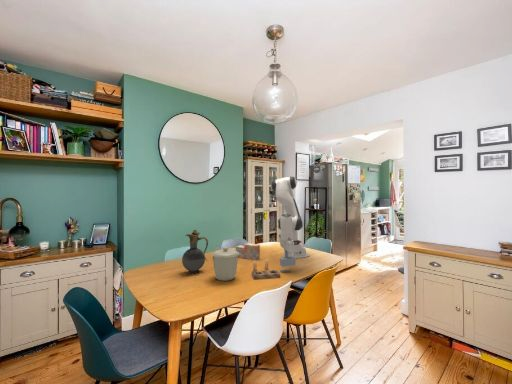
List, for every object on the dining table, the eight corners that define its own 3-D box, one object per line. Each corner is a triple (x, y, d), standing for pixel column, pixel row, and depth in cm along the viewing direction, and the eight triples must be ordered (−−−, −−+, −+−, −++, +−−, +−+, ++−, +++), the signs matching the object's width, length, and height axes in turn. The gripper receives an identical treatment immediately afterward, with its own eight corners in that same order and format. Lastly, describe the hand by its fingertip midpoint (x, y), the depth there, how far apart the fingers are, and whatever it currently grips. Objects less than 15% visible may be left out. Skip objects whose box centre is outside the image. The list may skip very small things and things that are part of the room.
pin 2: (267, 268, 181) (267, 259, 181) (268, 269, 179) (268, 260, 179) (264, 269, 181) (264, 259, 181) (265, 270, 178) (265, 260, 178)
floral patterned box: (235, 257, 214) (235, 243, 214) (239, 255, 219) (239, 241, 219) (256, 260, 203) (256, 246, 203) (259, 259, 208) (259, 244, 208)
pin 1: (256, 270, 179) (256, 260, 179) (256, 271, 176) (256, 261, 176) (252, 270, 178) (252, 260, 178) (253, 271, 176) (253, 261, 175)
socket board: (276, 273, 171) (276, 269, 171) (280, 277, 163) (280, 273, 163) (251, 275, 167) (251, 271, 167) (253, 279, 160) (253, 275, 160)
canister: (206, 277, 163) (206, 246, 163) (229, 271, 175) (229, 242, 175) (221, 285, 149) (221, 251, 149) (244, 278, 161) (244, 246, 161)
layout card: (289, 270, 177) (289, 268, 177) (290, 271, 174) (290, 270, 174) (279, 271, 176) (279, 269, 176) (281, 272, 173) (281, 270, 173)
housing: (292, 263, 179) (292, 250, 179) (295, 265, 174) (295, 251, 174) (279, 264, 177) (279, 251, 176) (282, 266, 172) (281, 253, 172)
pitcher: (180, 272, 174) (180, 230, 173) (205, 267, 185) (204, 227, 185) (185, 276, 165) (185, 232, 165) (211, 271, 176) (211, 229, 176)
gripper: (296, 239, 166) (297, 259, 166) (286, 233, 185) (286, 251, 186) (287, 240, 164) (288, 260, 164) (278, 234, 184) (278, 252, 184)
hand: (287, 255), depth 175 cm, fingers closed on housing, 3 cm apart
